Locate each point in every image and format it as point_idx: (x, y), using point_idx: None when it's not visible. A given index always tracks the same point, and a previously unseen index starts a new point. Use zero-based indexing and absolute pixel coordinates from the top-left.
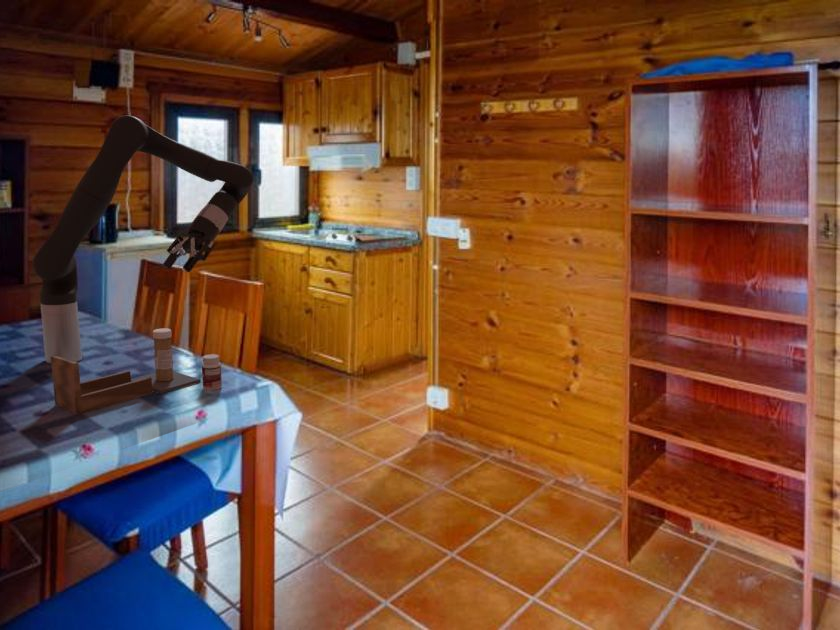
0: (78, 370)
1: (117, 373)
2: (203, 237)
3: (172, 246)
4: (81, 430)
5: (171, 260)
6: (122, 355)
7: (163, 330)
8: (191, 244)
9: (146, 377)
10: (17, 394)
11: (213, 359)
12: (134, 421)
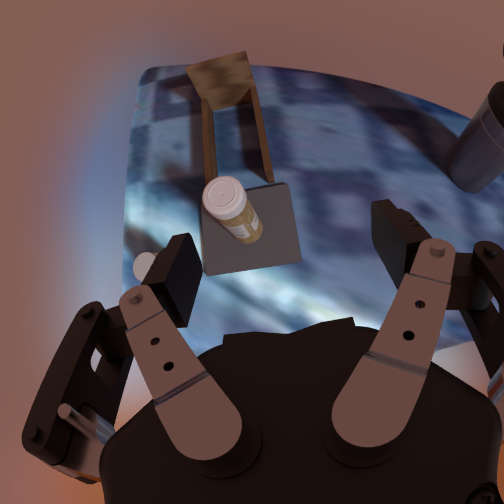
0: (189, 76)
1: (267, 153)
2: (107, 499)
3: (496, 279)
4: (164, 106)
5: (390, 248)
6: (456, 249)
7: (215, 195)
8: (187, 358)
9: (281, 211)
10: (332, 81)
11: (134, 263)
12: (143, 147)
